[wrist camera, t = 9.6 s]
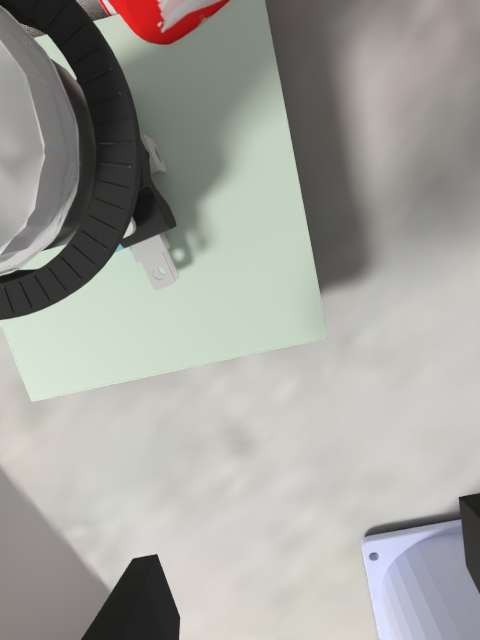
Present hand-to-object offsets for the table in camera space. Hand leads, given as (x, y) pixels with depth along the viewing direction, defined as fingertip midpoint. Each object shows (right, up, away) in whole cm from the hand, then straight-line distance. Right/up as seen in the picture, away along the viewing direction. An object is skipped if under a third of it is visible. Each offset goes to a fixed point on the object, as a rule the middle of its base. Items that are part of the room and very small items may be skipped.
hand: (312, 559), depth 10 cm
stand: (-6, +10, +8) cm, 14 cm away
